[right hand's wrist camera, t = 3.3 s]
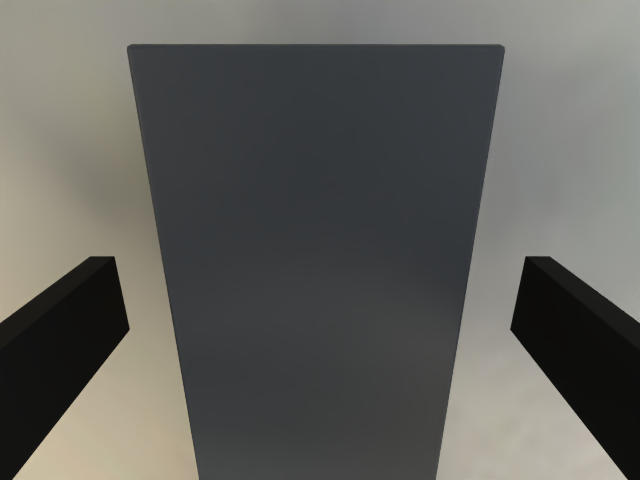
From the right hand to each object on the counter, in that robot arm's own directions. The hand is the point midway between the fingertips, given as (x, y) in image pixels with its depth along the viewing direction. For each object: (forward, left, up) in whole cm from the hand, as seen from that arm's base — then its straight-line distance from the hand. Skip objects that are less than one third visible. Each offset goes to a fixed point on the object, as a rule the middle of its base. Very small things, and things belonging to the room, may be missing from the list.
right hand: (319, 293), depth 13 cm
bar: (+8, -26, -4) cm, 27 cm away
